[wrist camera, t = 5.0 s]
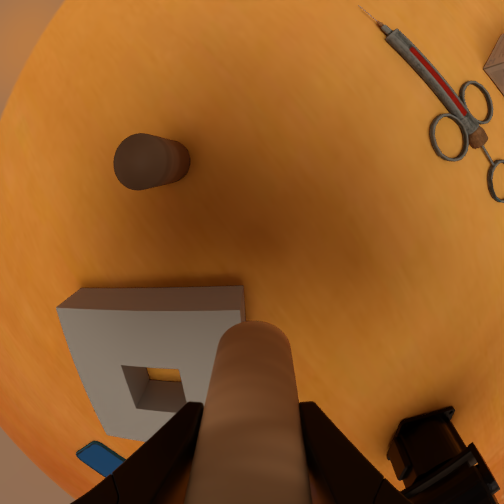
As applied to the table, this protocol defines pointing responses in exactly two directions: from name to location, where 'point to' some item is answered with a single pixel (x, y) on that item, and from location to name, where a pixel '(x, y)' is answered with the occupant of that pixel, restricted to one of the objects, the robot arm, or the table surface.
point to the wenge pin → (150, 161)
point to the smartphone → (100, 458)
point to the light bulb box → (497, 64)
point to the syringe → (446, 100)
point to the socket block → (146, 349)
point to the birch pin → (251, 424)
